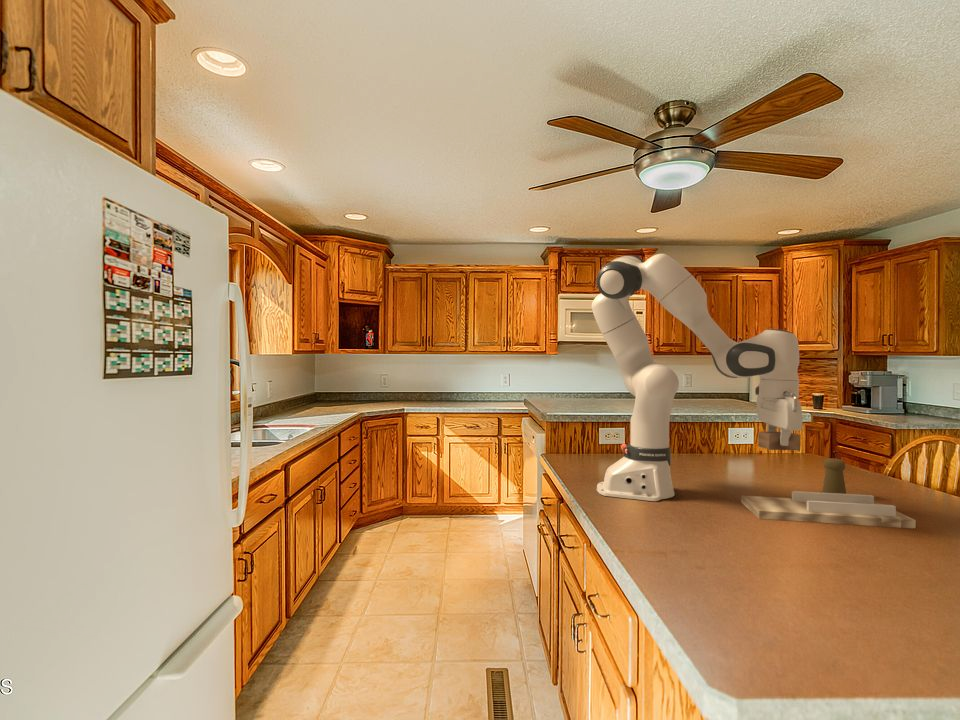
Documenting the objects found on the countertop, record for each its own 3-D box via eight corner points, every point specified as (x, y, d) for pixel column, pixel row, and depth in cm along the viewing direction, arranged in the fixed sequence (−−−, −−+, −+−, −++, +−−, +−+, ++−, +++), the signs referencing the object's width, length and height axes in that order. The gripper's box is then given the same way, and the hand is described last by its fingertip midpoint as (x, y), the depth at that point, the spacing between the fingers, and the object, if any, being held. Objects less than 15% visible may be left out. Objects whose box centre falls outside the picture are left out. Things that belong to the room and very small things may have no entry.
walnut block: (769, 449, 125) (769, 434, 125) (758, 446, 130) (758, 431, 130) (800, 450, 125) (800, 434, 125) (788, 446, 130) (788, 431, 130)
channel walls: (808, 511, 122) (808, 501, 122) (791, 500, 132) (791, 491, 132) (895, 516, 118) (895, 506, 118) (871, 504, 128) (871, 495, 128)
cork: (838, 493, 146) (838, 457, 146) (852, 499, 140) (852, 461, 140) (817, 493, 146) (817, 456, 146) (829, 498, 140) (829, 460, 140)
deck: (759, 518, 122) (759, 510, 122) (741, 502, 136) (741, 495, 136) (915, 528, 115) (915, 520, 115) (880, 510, 129) (880, 503, 129)
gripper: (810, 393, 117) (809, 450, 117) (777, 388, 137) (776, 437, 137) (781, 393, 118) (780, 449, 118) (752, 388, 138) (751, 436, 138)
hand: (778, 443), depth 128 cm, fingers closed on walnut block, 5 cm apart
